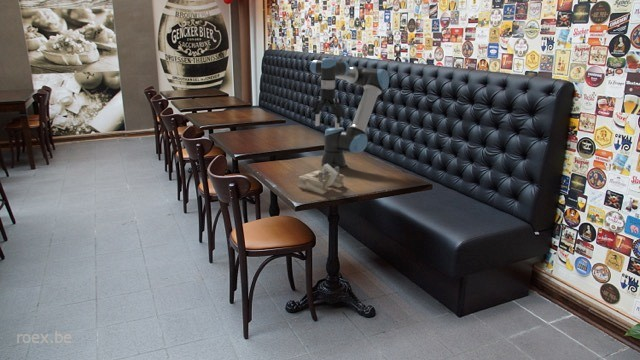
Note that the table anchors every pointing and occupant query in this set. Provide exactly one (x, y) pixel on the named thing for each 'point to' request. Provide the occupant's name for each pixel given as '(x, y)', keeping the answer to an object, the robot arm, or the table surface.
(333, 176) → the white u-shaped bracket
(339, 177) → the c-clamp
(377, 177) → the table surface
